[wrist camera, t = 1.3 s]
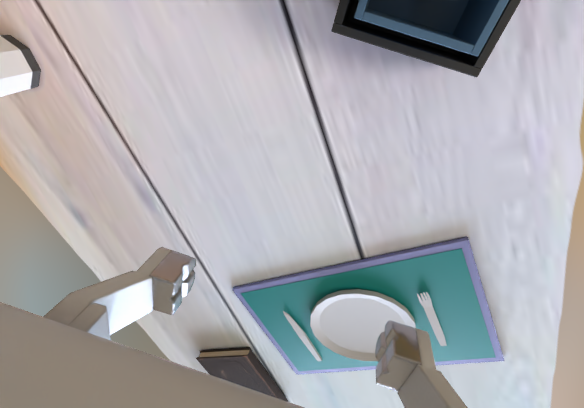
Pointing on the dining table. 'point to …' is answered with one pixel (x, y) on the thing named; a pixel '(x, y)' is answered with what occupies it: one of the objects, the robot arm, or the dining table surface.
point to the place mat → (377, 309)
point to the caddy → (437, 20)
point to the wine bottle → (16, 67)
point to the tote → (417, 46)
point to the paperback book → (240, 369)
